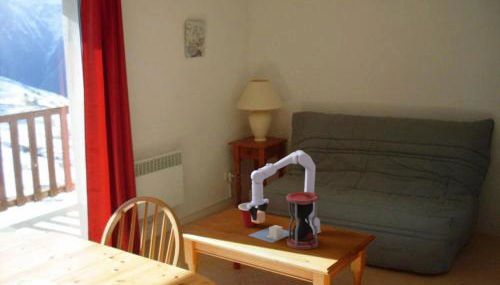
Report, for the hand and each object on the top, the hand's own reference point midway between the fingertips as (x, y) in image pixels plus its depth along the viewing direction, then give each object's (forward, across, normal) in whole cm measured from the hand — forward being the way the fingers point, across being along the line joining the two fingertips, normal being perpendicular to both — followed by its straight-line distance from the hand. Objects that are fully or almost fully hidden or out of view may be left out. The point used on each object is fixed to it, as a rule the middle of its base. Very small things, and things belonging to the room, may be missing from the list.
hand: (258, 218), depth 292 cm
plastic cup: (+10, -8, -15) cm, 20 cm away
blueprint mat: (+9, -6, +4) cm, 12 cm away
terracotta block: (+1, 0, 0) cm, 1 cm away
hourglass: (+10, -6, +25) cm, 27 cm away
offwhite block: (+9, -5, +8) cm, 13 cm away
